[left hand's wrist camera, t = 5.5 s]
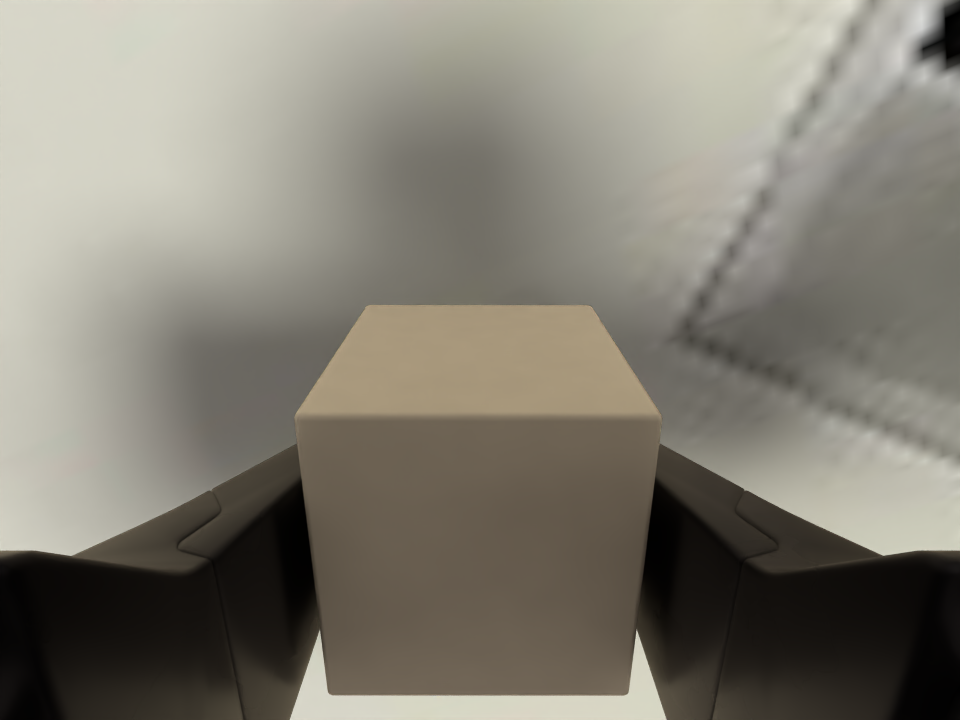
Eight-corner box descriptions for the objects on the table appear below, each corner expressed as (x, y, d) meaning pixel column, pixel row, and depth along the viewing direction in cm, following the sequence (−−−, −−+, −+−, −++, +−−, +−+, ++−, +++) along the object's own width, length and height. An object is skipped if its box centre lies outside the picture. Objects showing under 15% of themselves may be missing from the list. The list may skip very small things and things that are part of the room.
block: (592, 303, 12) (665, 415, 7) (578, 503, 13) (630, 698, 9) (365, 303, 12) (291, 414, 7) (379, 502, 13) (326, 698, 9)
